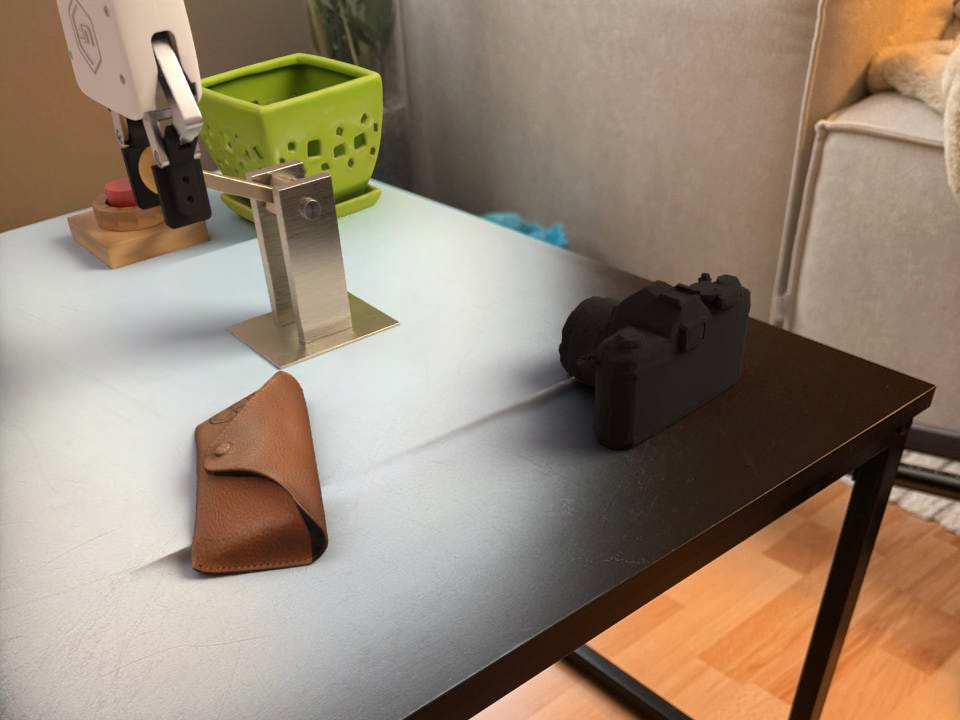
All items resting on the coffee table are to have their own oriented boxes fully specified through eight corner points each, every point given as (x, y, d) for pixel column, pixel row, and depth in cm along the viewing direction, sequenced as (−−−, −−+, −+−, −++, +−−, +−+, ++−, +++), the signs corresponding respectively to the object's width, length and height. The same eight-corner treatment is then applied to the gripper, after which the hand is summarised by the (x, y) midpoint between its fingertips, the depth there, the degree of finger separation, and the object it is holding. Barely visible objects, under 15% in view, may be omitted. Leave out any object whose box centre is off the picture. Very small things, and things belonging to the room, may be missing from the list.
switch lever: (147, 195, 66) (154, 144, 65) (127, 183, 68) (134, 133, 67) (314, 231, 75) (323, 186, 74) (292, 219, 77) (301, 175, 76)
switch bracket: (283, 381, 77) (249, 210, 68) (228, 341, 82) (191, 177, 74) (402, 336, 82) (384, 170, 73) (343, 300, 87) (320, 142, 78)
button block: (112, 270, 94) (100, 227, 91) (73, 239, 100) (60, 198, 97) (210, 241, 98) (200, 198, 95) (166, 213, 104) (156, 172, 101)
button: (119, 213, 94) (113, 194, 93) (102, 202, 97) (97, 183, 96) (158, 202, 96) (154, 183, 95) (141, 192, 99) (136, 173, 97)
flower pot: (321, 181, 109) (302, 48, 100) (401, 214, 101) (387, 73, 92) (208, 218, 102) (177, 79, 94) (283, 256, 95) (257, 108, 86)
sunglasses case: (186, 422, 72) (216, 340, 68) (280, 452, 75) (313, 376, 72) (189, 578, 59) (226, 487, 56) (302, 606, 62) (344, 522, 59)
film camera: (654, 338, 79) (663, 222, 73) (757, 379, 74) (776, 258, 68) (517, 412, 72) (514, 290, 66) (620, 463, 67) (628, 336, 61)
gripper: (-19, -118, 61) (77, 196, 73) (86, -94, 51) (176, 265, 63) (99, -133, 64) (172, 170, 76) (220, -113, 54) (281, 232, 66)
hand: (173, 210), depth 70 cm, fingers open, 4 cm apart
